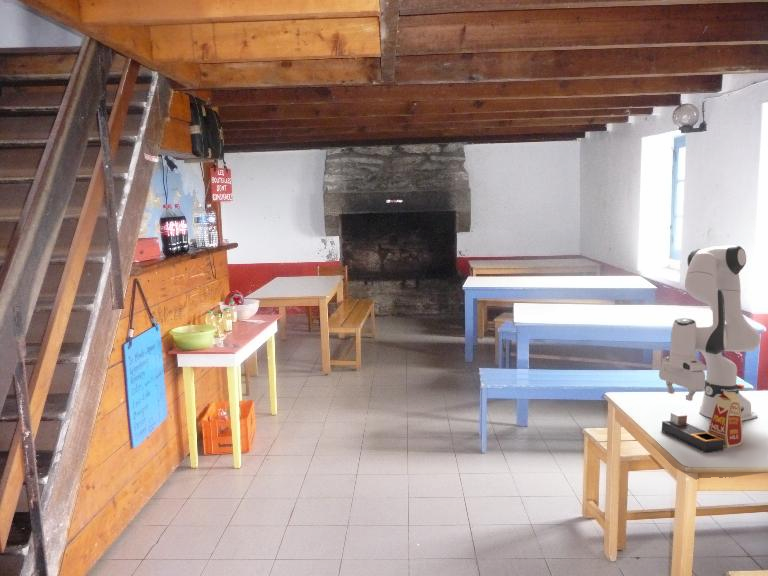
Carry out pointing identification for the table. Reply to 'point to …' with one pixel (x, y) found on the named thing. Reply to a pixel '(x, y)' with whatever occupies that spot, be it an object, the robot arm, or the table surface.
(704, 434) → the box with square holes
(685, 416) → the grey square block
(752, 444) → the table surface
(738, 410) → the milk carton
